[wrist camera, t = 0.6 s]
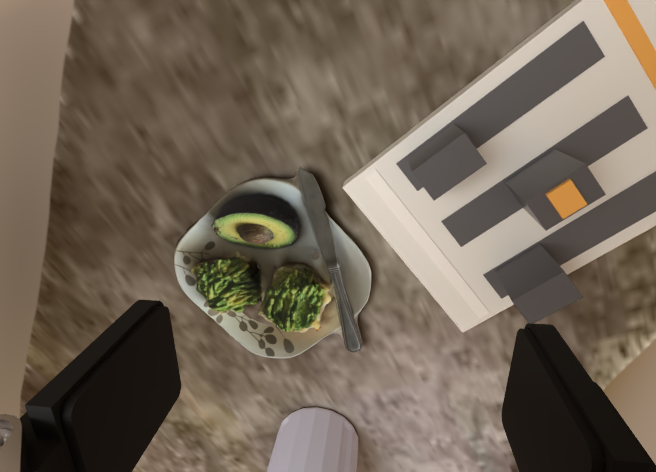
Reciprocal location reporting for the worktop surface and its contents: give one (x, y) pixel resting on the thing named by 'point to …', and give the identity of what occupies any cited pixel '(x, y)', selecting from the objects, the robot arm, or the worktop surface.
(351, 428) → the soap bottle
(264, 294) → the salad plate
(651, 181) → the breaker switch panel
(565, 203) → the block
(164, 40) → the worktop surface
